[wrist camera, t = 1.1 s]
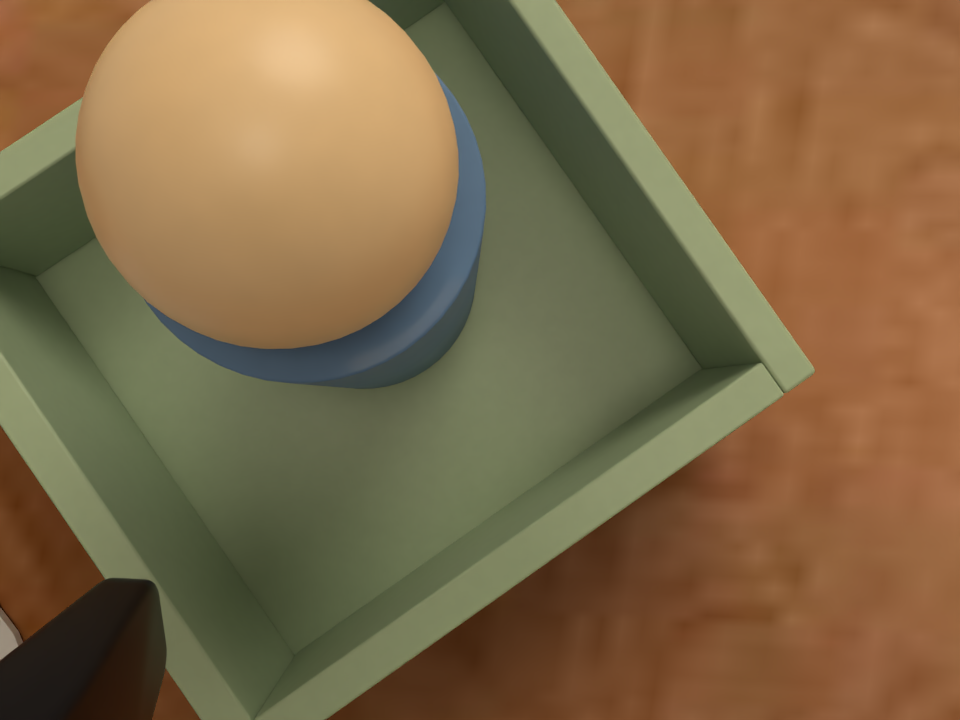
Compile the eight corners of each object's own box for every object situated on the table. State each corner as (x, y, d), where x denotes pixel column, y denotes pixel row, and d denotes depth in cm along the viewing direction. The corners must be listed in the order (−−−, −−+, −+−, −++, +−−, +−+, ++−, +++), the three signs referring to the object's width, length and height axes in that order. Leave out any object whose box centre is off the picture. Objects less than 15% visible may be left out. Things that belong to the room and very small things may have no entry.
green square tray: (293, 688, 23) (240, 781, 17) (10, 274, 23) (-131, 236, 18) (734, 377, 23) (818, 371, 18) (453, -23, 24) (451, -150, 18)
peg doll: (335, 432, 22) (156, 484, 9) (209, 249, 22) (-150, 37, 9) (518, 305, 22) (602, 177, 9) (393, 125, 22) (300, -256, 9)
